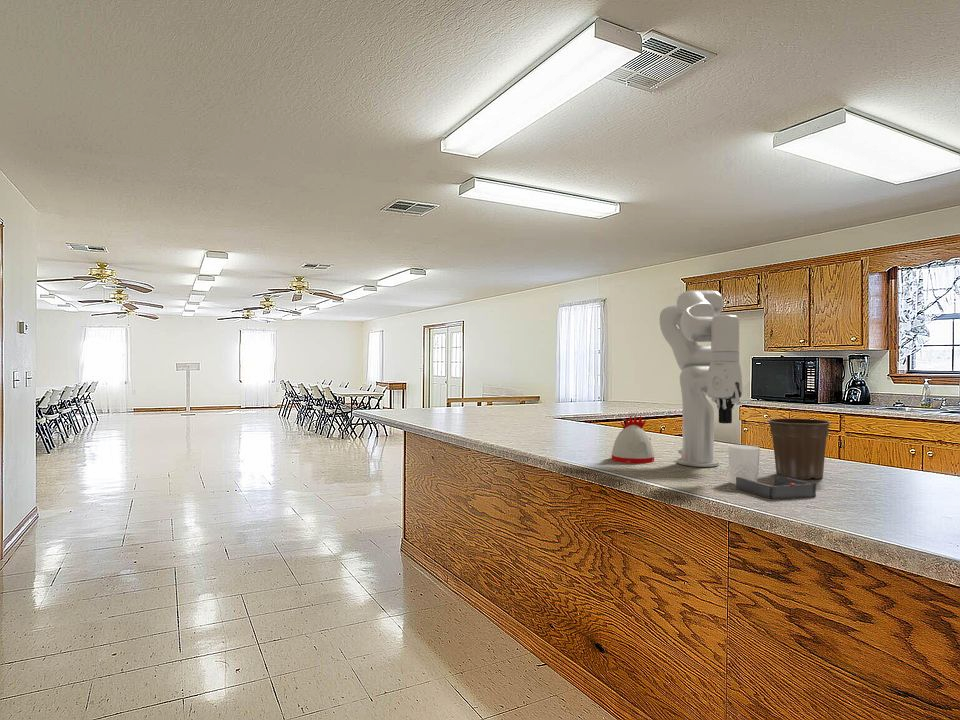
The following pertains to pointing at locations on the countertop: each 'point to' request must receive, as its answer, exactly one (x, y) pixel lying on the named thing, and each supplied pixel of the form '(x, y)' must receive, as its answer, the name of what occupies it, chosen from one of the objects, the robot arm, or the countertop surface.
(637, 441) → the white and red dome
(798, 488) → the bracket
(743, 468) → the white cup
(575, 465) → the countertop surface
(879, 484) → the countertop surface
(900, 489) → the countertop surface
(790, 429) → the plant pot
